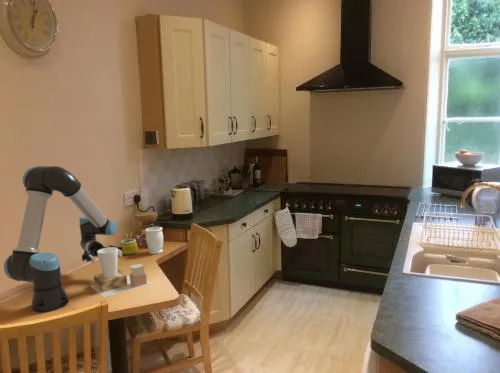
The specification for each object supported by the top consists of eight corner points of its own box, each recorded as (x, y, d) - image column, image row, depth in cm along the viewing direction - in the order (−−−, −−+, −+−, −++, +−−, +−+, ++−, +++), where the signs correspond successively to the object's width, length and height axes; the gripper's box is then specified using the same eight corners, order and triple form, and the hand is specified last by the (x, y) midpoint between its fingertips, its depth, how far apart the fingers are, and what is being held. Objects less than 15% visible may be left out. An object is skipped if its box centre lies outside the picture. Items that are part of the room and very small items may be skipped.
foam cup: (96, 279, 209) (93, 252, 207) (107, 272, 218) (104, 247, 216) (113, 279, 207) (110, 253, 205) (124, 272, 215) (121, 247, 213)
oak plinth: (102, 292, 205) (101, 281, 205) (94, 285, 215) (93, 275, 214) (127, 285, 212) (126, 275, 212) (118, 278, 222) (117, 269, 221)
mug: (133, 255, 266) (131, 236, 264) (117, 255, 268) (115, 236, 266) (142, 249, 278) (140, 231, 276) (126, 249, 280) (125, 231, 278)
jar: (160, 254, 264) (158, 230, 262) (144, 254, 266) (142, 230, 264) (167, 249, 274) (165, 226, 272) (151, 249, 276) (149, 226, 274)
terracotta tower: (135, 286, 210) (133, 268, 208) (130, 283, 214) (128, 266, 213) (146, 283, 213) (145, 265, 212) (142, 280, 218) (140, 263, 216)
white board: (103, 300, 199) (103, 297, 199) (90, 288, 215) (90, 285, 215) (152, 286, 213) (152, 283, 213) (136, 276, 229) (136, 273, 229)
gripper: (118, 249, 238) (133, 258, 221) (71, 260, 224) (82, 270, 207) (117, 236, 237) (131, 244, 220) (69, 246, 223) (80, 255, 206)
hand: (107, 257), depth 213 cm, fingers open, 13 cm apart
